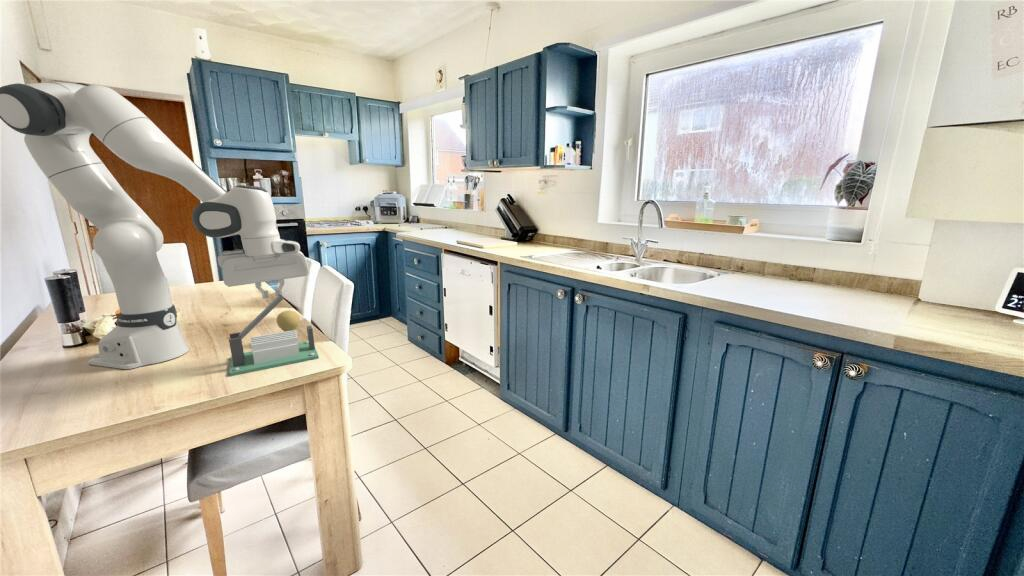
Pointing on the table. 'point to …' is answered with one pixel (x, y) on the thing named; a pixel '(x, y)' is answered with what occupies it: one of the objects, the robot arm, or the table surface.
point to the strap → (260, 317)
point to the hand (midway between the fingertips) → (272, 296)
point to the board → (273, 363)
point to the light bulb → (288, 321)
